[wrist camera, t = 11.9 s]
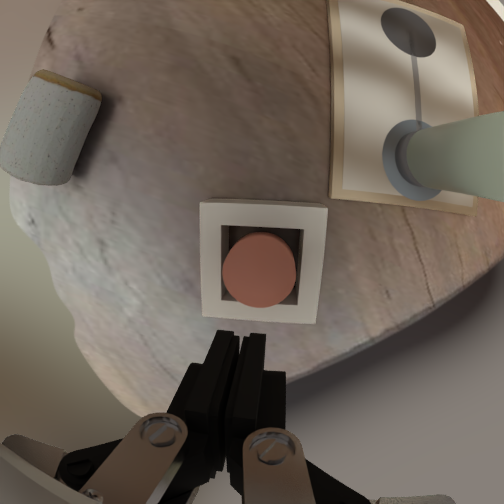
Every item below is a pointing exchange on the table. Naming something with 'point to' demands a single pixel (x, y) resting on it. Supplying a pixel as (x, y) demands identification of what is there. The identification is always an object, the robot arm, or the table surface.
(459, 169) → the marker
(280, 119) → the table surface
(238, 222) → the button housing
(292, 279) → the button
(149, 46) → the table surface
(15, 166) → the ceramic mug
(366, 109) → the board
